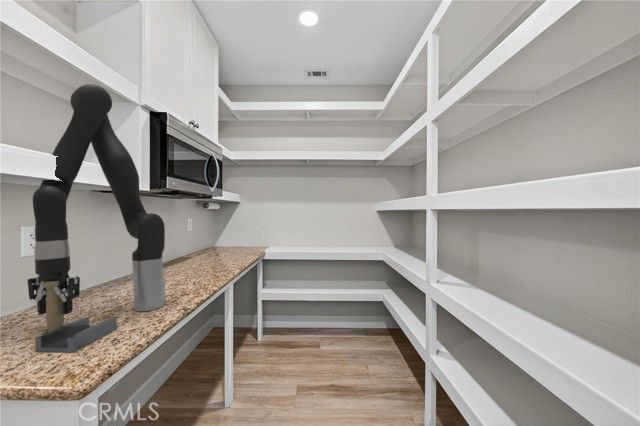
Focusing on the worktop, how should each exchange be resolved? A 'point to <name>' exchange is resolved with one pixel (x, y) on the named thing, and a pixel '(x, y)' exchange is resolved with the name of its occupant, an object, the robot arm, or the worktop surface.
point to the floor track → (74, 335)
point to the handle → (53, 306)
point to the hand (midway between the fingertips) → (55, 313)
